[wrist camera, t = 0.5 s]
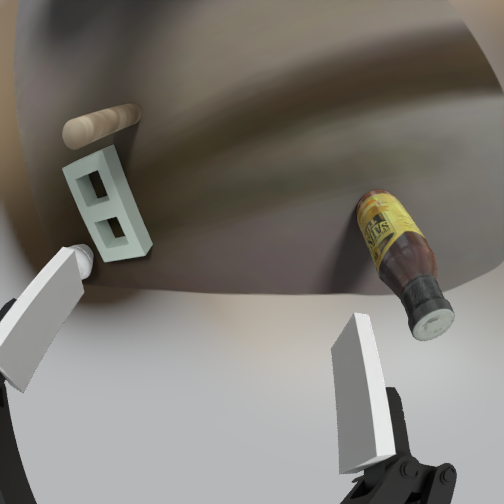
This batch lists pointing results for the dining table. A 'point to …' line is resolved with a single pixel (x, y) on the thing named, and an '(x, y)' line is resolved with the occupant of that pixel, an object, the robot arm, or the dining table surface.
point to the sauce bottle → (404, 263)
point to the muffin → (83, 259)
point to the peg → (99, 124)
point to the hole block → (108, 205)
